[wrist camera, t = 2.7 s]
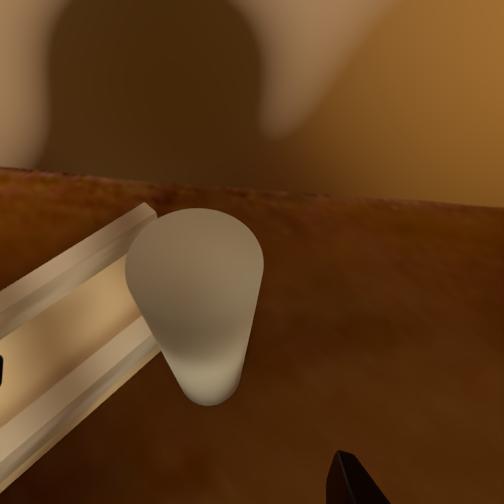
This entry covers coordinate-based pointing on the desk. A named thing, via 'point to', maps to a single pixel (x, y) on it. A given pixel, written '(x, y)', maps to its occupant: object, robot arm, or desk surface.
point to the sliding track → (68, 342)
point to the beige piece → (198, 296)
